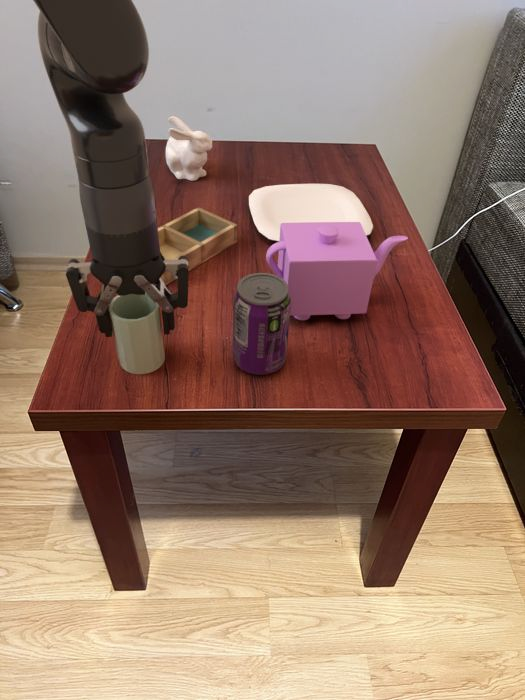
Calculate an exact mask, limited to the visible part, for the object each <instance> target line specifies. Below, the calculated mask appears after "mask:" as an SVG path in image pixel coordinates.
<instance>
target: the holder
mask: <svg viewBox="0 0 525 700" xmlns="http://www.w3.org/2000/svg"><path fill="white" fill-rule="evenodd" d="M158 236H159V245H160V252H161V254H162V255H163V257H164V258H165V259H168V260H178V258H179V257H180V256H186V257H187V258H188V267H189V272H190V271H192V270H194V269H196V268H197V267H198V266H201V265H202V264H204V263H205V262H207V261H208V260H210V259H212V258H214V257H215V256H216V255H218V254H221V253H222V252H223V251H225V250H226V249H228V248H229V247H231V246H233V245H235V244H236V243H238V224H237V223H235V222H233V221H231V220H228V219H226V218H224V217H221V216H219V215H217V214H214V213H213V212H211V211H209V210H206V209H204V208H201V207H196V208H194V209H192V210H190V211H188V212H187V213H184V214H182V215H181V216H179V217H176V218H175V219H172V220H170V221H169V222H167V223H165V224H163V225H161V226H160V227H159V226H158ZM160 278H161V279H162V280H163V282H164V285H165V286H166V287H167V286H168V285H169V284H171V283H173V282H175V281H176V280H175V279H174V278H173V277H172V276H171V273H170V272H169V271H167V270H165V272H164V273H163V275H162V276H161V277H160Z"/></svg>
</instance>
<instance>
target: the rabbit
mask: <svg viewBox="0 0 525 700" xmlns="http://www.w3.org/2000/svg"><path fill="white" fill-rule="evenodd" d="M167 121H168V123H169V124H171V125H172V126H174V127H176V128H173V127H171V128H168V131H167V132H168V134H169V136H170V137H169V138H168V140H167V141H166V146H165V161H166V165H167V167H168V168H169V171H170V172H171V173H172V174H173V175H174V176H175V178H176V179H177V180H188V181H191V182H194V181H197V180H198V179H199V178H203V177H206V176H207V171H206V170H205V169H203V166H205V164H206V163H207V161H208V153H207V152H209V151H211V150H212V149H213V139H212V138H211V136H210V135H209V134H208V133H205V132H204V131H202V130H192V129H191V128H190V127H189V126H188V124H186V123H185V122H184V121H183V120H181V119H180V118H178V117H176V116H173V115H171V116H170V117H168V120H167Z"/></svg>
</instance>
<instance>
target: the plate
mask: <svg viewBox="0 0 525 700" xmlns="http://www.w3.org/2000/svg"><path fill="white" fill-rule="evenodd" d="M248 207H249V211H250V214H251V218H252V221H253V225H254V226H255V228H256V230H257V232H258V233H259V234H260V235H261V236H263V237H264V238H266V239H267V240H269V241H273V242H275V243H277V242H279V240H280V226H281V223H308V222H360V223H361V225H362V228H363V230H364V232H365V234H366V236H367V237H368V236H371V234H372V231H373V229H374V224H373V221H372V218H371V216H370V215H369V213H368V211H367V209H366V208H365V206H364V204H363V203H362V201H361V200H360V198H359V197H358V196H357V195H356V194H355V193H354V192H353V191H352V190H350V189H348V188H346V187H344V186H341V185H336V184H331V183H292V184H291V183H287V184H275V185H268V186H267V185H265V186H263V187H260V188H256V189H254V190H253V191H252V192H251V193H250V194H249V195H248Z"/></svg>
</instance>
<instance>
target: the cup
mask: <svg viewBox="0 0 525 700" xmlns="http://www.w3.org/2000/svg"><path fill="white" fill-rule="evenodd" d="M109 313H110V318H111V323H112V329H113V332H112V335H113V338H114V343H115V348H116V354H117V359H118V361H119V366H120V367H121V368H122V369H123V370H124V371H125V372H127V373H130V374H133V375H147V374H150V373H153V372H155V371H157V370H159V369H160V368H161V367H162V366H163V364H164V363H165V360H166V349H165V348H166V347H165V339H164V329H163V320H162V311H161V307H160V306H159V305H158V304H157V302H153V301H152V299H151V298H150V297H149V296H148V295H147V294H146V293H145V295H136V294H129V295H125V296H118V295H116V296H114V297H113V299H112V301H111V303H110V304H109Z"/></svg>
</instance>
